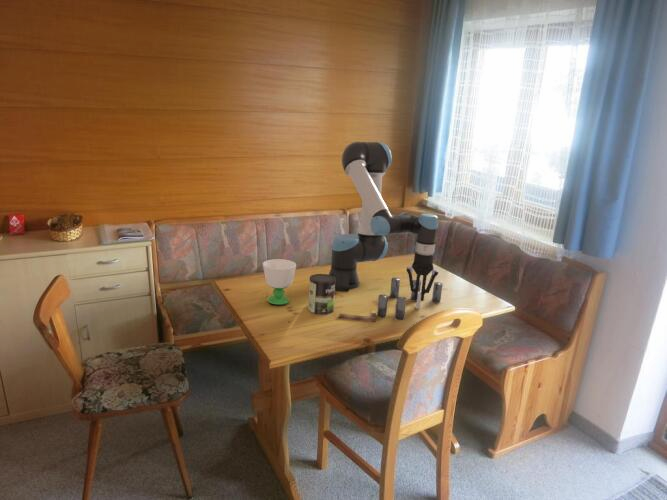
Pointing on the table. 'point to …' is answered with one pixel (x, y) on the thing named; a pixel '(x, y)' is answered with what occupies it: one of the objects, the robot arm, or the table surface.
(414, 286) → the post
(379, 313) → the post
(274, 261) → the cup
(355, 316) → the hook stick
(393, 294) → the post
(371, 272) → the table surface
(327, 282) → the coffee can
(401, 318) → the post
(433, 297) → the post
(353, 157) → the robot arm
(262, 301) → the table surface
